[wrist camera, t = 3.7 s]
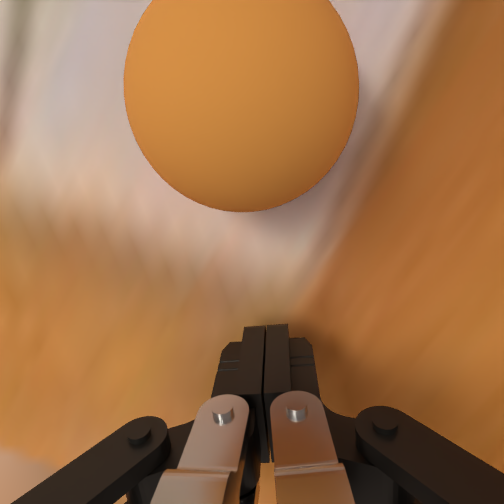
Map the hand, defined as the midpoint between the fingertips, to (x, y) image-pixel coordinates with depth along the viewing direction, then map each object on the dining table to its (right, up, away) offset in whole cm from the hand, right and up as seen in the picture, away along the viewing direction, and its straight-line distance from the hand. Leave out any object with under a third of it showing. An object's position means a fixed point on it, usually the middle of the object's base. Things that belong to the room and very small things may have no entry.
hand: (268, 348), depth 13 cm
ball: (-1, +7, -4) cm, 8 cm away
